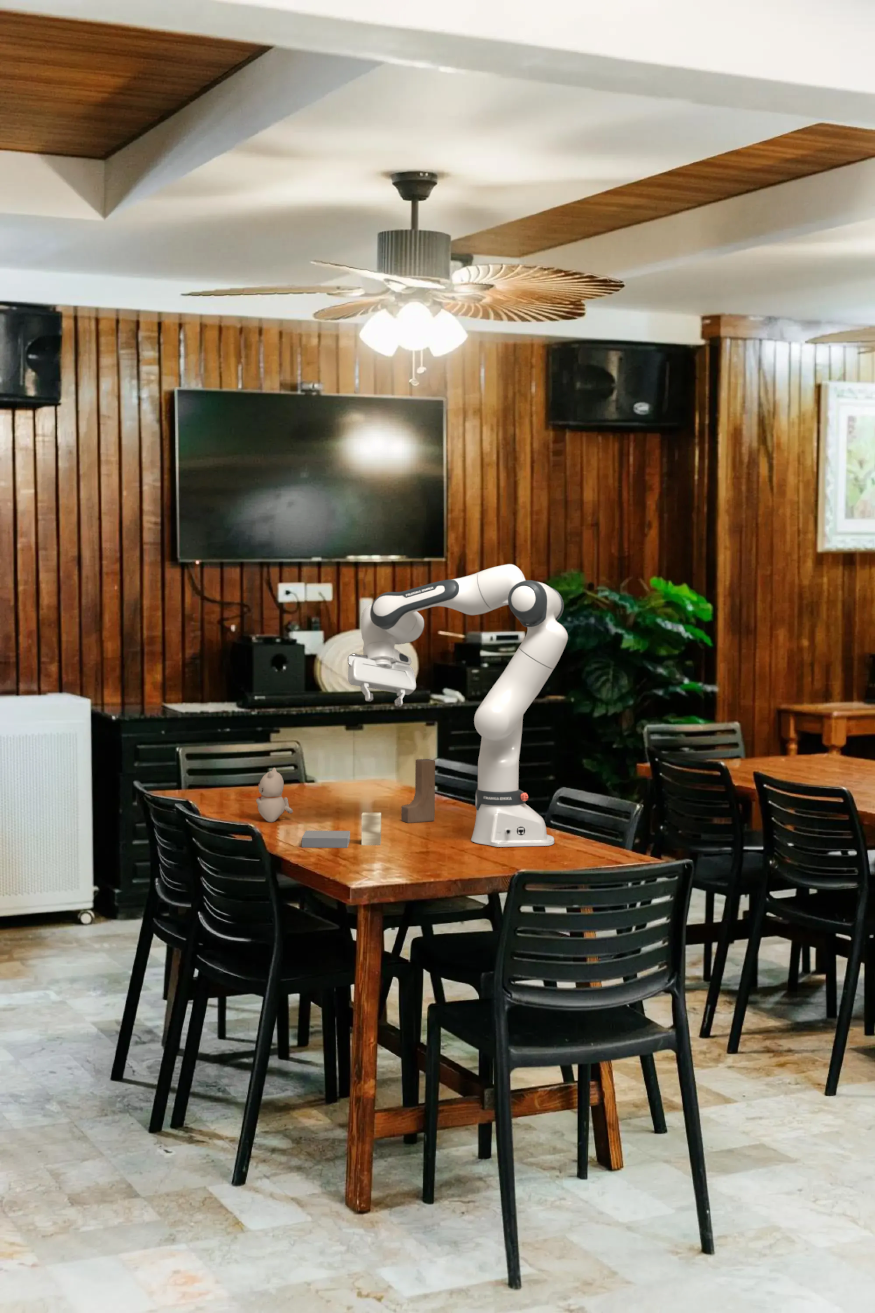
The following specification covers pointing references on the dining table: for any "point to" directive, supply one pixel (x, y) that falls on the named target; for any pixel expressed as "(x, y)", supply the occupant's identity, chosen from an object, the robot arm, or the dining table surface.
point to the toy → (272, 796)
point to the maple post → (371, 828)
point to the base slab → (326, 839)
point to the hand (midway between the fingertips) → (384, 702)
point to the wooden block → (422, 794)
